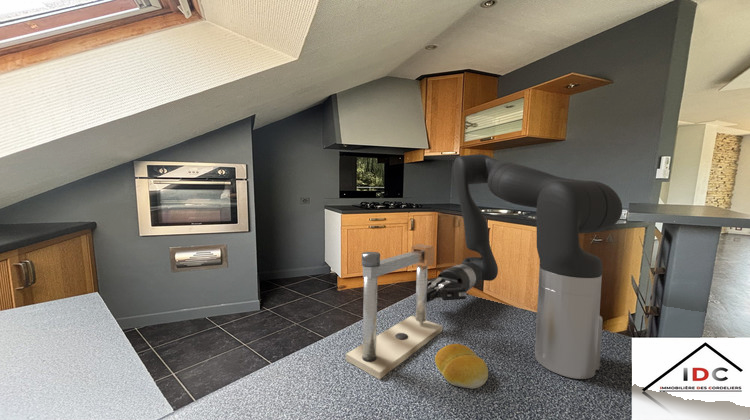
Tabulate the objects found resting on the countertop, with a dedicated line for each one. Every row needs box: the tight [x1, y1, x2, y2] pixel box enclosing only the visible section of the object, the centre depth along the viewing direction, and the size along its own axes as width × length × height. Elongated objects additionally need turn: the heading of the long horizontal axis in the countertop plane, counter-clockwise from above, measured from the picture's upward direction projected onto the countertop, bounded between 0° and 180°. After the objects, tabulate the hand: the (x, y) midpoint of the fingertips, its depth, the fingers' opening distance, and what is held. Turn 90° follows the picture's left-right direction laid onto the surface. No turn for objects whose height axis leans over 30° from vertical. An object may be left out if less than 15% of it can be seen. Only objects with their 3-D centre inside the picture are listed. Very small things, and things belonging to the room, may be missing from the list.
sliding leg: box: [410, 243, 435, 324], centre depth 64 cm, size 3×4×17 cm
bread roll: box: [434, 343, 489, 390], centre depth 49 cm, size 8×9×4 cm
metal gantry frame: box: [361, 250, 425, 361], centre depth 57 cm, size 22×3×19 cm, turn 139°
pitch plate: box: [345, 315, 443, 380], centre depth 58 cm, size 22×8×1 cm, turn 139°
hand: (424, 297), depth 65 cm, fingers closed
